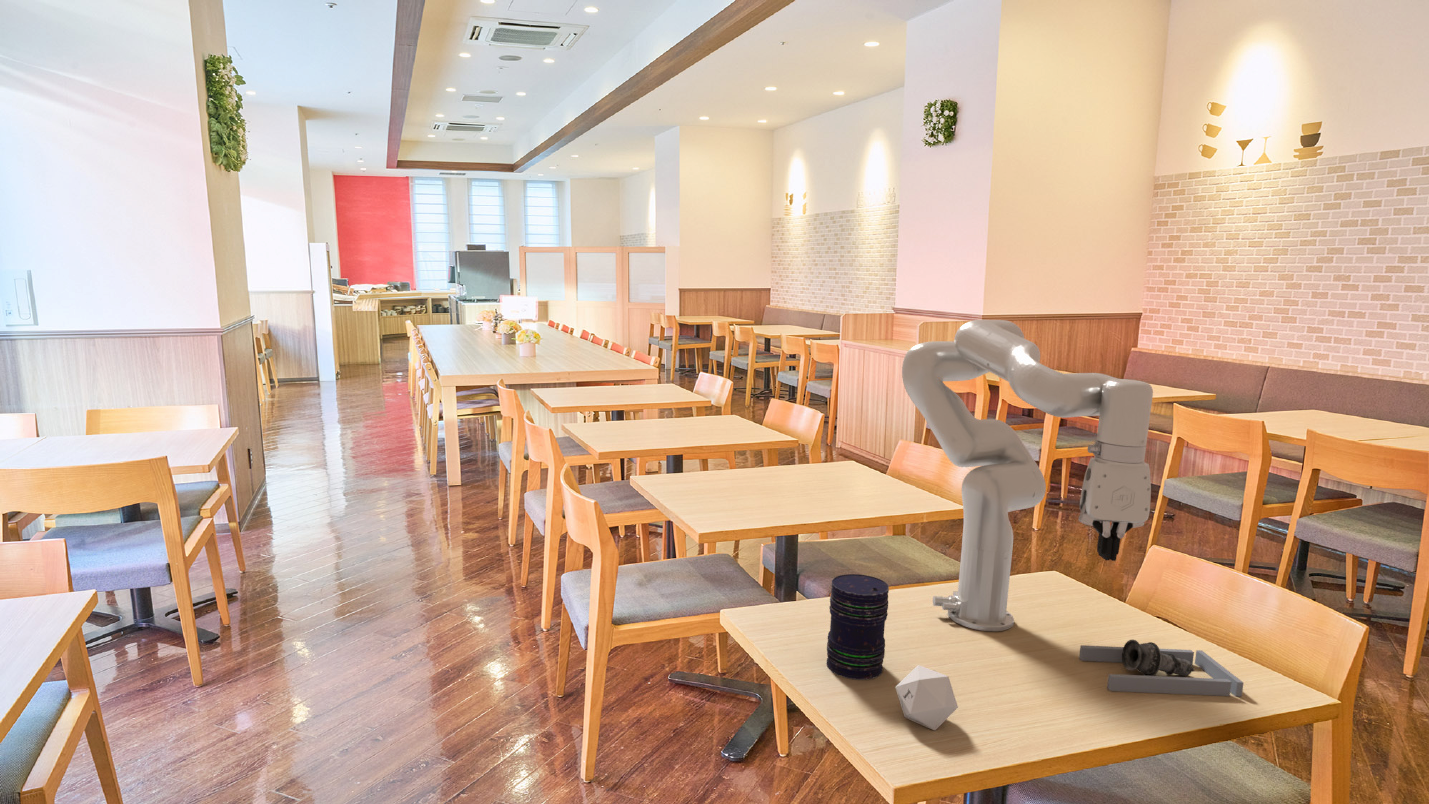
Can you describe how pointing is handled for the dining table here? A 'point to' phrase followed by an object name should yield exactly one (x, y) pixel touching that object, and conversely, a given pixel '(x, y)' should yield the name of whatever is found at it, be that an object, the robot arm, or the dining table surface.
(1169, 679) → the frame
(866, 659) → the dark blue cylinder
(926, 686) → the die
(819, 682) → the dining table surface
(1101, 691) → the dining table surface
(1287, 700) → the dining table surface
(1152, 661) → the dark ringed finial
